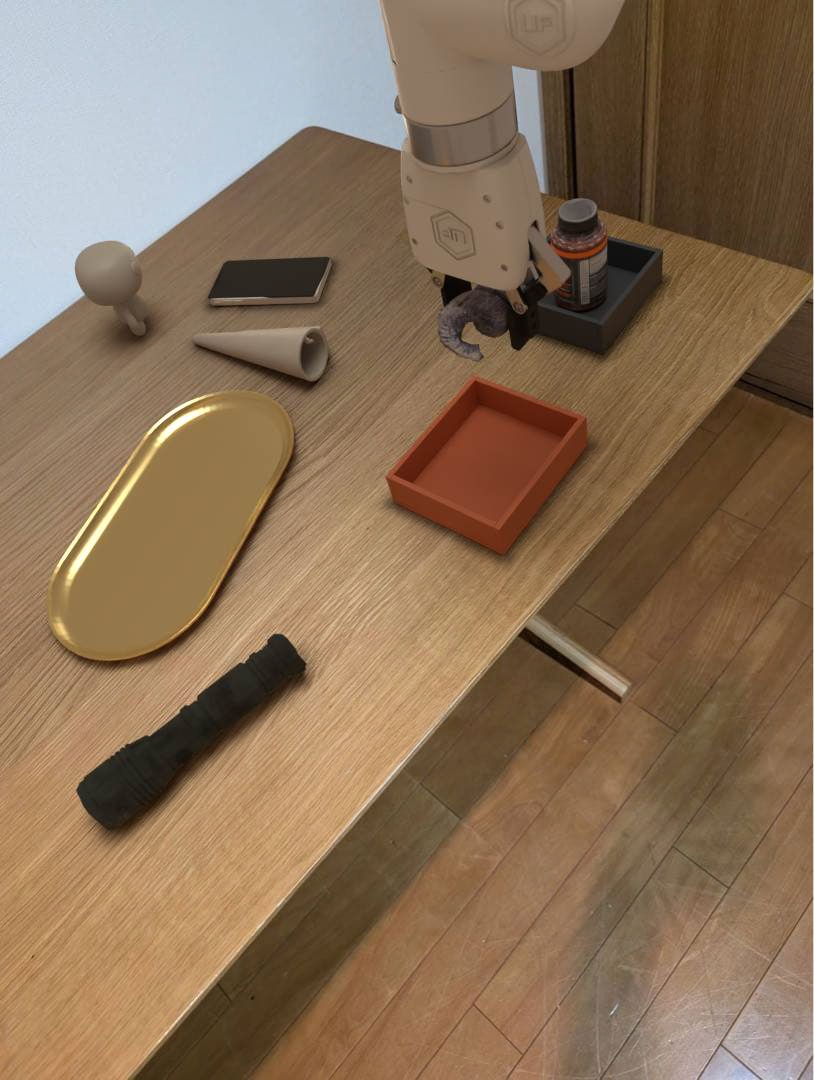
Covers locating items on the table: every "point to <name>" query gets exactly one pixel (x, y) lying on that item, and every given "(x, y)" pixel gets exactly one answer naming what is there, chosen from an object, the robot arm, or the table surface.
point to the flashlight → (185, 735)
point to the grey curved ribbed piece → (474, 319)
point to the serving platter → (169, 526)
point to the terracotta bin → (488, 462)
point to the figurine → (113, 281)
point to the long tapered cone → (275, 349)
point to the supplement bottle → (581, 255)
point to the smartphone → (270, 281)
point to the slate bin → (606, 298)
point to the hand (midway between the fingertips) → (492, 326)
